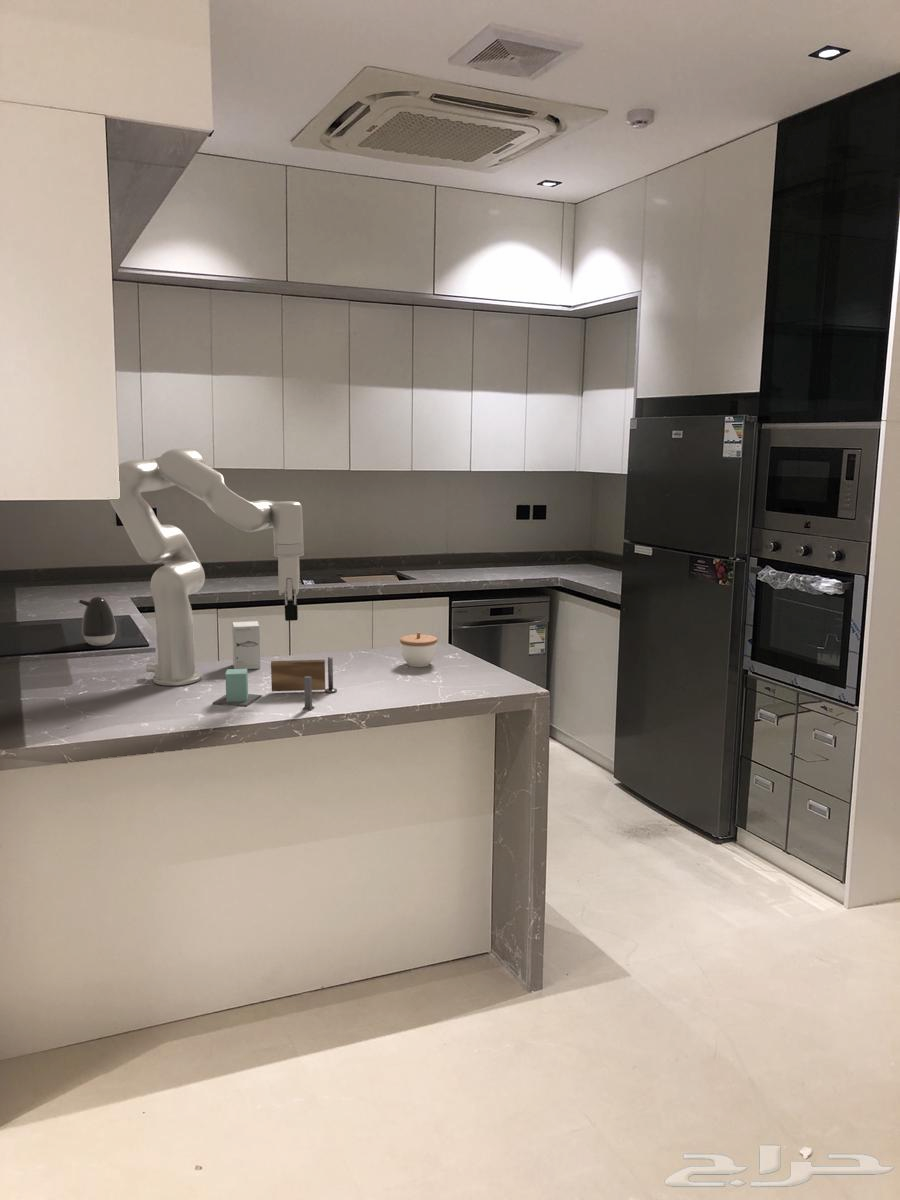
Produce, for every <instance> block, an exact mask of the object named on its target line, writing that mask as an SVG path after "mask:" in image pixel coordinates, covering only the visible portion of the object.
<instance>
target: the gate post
mask: <svg viewBox="0 0 900 1200" xmlns="http://www.w3.org/2000/svg"><path fill="white" fill-rule="evenodd" d="M333 660H334V659H333V657H332V656H330V657H327V680H328V681H327V685H328V688H325V690H324V693H326V694H334V693H337V692H338V689H337V688H335V687H334V667H333V663H334V661H333Z"/></svg>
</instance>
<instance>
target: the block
mask: <svg viewBox="0 0 900 1200" xmlns="http://www.w3.org/2000/svg"><path fill="white" fill-rule="evenodd" d="M224 676H225V695H226V702H235V701H247V699H248V694H249V681H248V680H249V679H248V669H234V668H233V669H232V668H231V669H226V671H225V675H224Z"/></svg>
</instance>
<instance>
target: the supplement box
mask: <svg viewBox="0 0 900 1200" xmlns="http://www.w3.org/2000/svg"><path fill="white" fill-rule="evenodd" d="M231 637H232V638H231V639H232V640H231V641H232V663H233V669H247V670H260V669H261V647H260V645H261V642H260V640H261V638H260V624H259V621H258V620H255V621H234V622H231Z"/></svg>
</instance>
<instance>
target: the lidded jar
mask: <svg viewBox="0 0 900 1200" xmlns="http://www.w3.org/2000/svg"><path fill="white" fill-rule="evenodd" d="M399 643H400V644H399V645H400V654H401V656H402V658H403V661H405V663H407V665H408V666H409V667H413V668H424V667H428V666H429V665H430V664H431V663H432V661H433V660H434V659H435V657H436V655H437V648H438V647H437V645H438V638H437V637H436V636H433V635H430V634H421V632H416V634H408V635H404V636H401V637H400V638H399Z"/></svg>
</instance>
